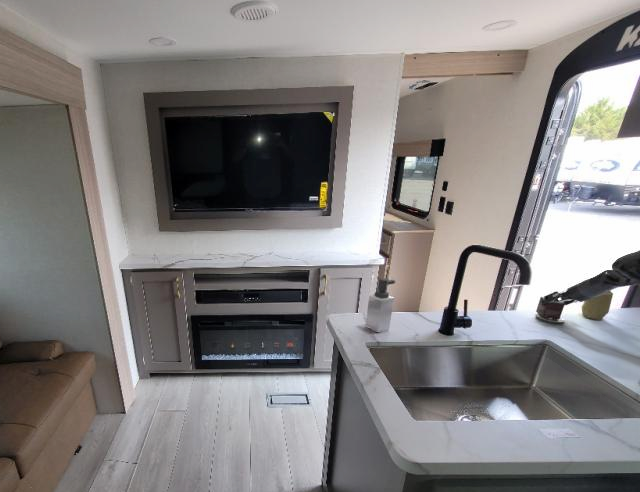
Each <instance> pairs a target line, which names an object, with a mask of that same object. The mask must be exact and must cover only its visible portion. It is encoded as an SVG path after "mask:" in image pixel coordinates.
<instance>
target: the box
mask: <svg viewBox="0 0 640 492" xmlns="http://www.w3.org/2000/svg"><path fill="white" fill-rule="evenodd" d="M542 300H544V296H540V298H539V301H538V304H537V307H536V310H535V313H536V314H539V315H541V316H542V317H545V318H555V319H560V317H561V316H562V313H563V310H564V309H565V308H564V307H565V306H566V305H565V303H564V302H553V303H550V304H548V305H545V306H543V305H542V303H541V301H542Z"/></svg>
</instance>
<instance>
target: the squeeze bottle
mask: <svg viewBox="0 0 640 492" xmlns="http://www.w3.org/2000/svg"><path fill="white" fill-rule="evenodd" d="M613 296H614V293H613V292H612V290H610V291H608V292H606V293H604V294H602V295H600V296H597V297H594V298H592V299H589V300H587V301H583V303H582V305H581V314H582V316H583V317H584V318H587V319H591V320H599V321H600V320H603V318H605V317H606V316H607V315H608V314H609V312H610V308H611V305H612V304H611V303H612V300H613Z"/></svg>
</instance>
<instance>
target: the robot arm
mask: <svg viewBox="0 0 640 492" xmlns="http://www.w3.org/2000/svg"><path fill="white" fill-rule="evenodd" d="M637 285H640V249H636V250H634V251H629V252H627V253H624V254H622V255H619V256H617V257H616V258H614V259H613V260H612V261H611V263H610V268H606V269H603V270H600V271H599V272H596V273H593V274H592V275H589V276H586V277H584V278H581V279H579V280H577V281H575V282H573V283H570V285H568V286H567V289H566V290H563V291H561V292H559V291H554V292H551V293H549V294H547V295H544V296H543V297H544V300H542V301H541V303H542V305H543V306H545V305H548V304H550V303H553V302H564V303H565V305H564V306H568V305H570V304H576V303H578V302H579V303H582V302H583V303H584V301H587V300H589V299H592V298H594V297H597V296H600V295H602V294H604V293H606V292H608V291H610V290H611V291H613V290H615V289H618V288H624V287H630V286H637Z"/></svg>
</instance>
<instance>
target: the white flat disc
mask: <svg viewBox="0 0 640 492" xmlns="http://www.w3.org/2000/svg"><path fill="white" fill-rule="evenodd" d="M535 319H537V320H539V321H540V322H543V323H546V324H551V325H564V324H565V321H566V320H565V319H564V318H563V317H561V316H560V319H555V318H545V317H542V316H541V315H539V314H538V313H536V314H535Z"/></svg>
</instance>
